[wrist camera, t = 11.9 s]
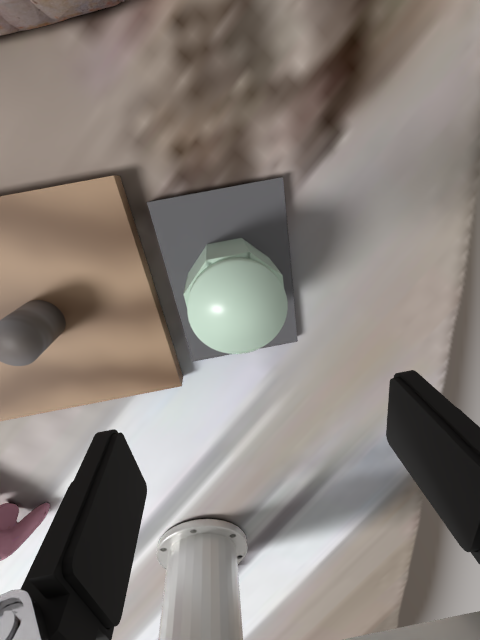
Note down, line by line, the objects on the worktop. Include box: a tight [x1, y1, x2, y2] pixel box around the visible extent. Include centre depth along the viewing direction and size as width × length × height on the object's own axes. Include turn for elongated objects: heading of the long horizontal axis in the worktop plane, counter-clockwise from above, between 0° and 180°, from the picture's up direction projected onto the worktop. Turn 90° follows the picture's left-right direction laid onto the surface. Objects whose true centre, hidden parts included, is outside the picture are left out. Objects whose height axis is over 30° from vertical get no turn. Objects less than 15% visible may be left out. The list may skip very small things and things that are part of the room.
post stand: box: [0, 175, 183, 421], centre depth 22 cm, size 18×18×6 cm
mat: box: [147, 177, 298, 361], centre depth 24 cm, size 14×10×1 cm
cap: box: [183, 238, 288, 354], centre depth 21 cm, size 7×7×6 cm
